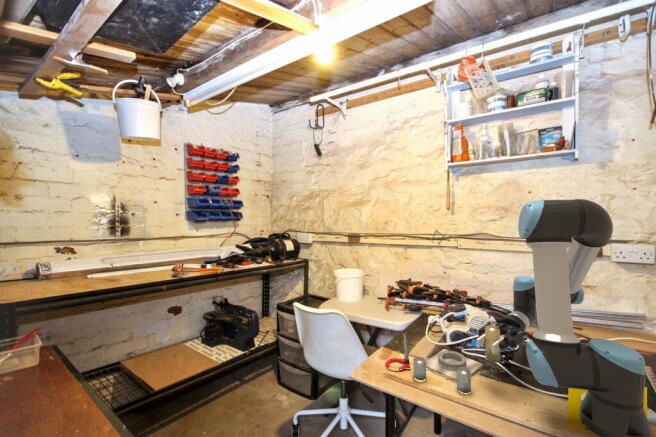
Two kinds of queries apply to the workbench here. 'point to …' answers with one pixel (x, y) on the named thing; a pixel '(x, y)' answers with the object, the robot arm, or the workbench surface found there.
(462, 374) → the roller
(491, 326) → the brass roller
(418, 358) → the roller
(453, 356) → the bearing housing
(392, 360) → the tow hook
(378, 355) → the workbench surface
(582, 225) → the robot arm
